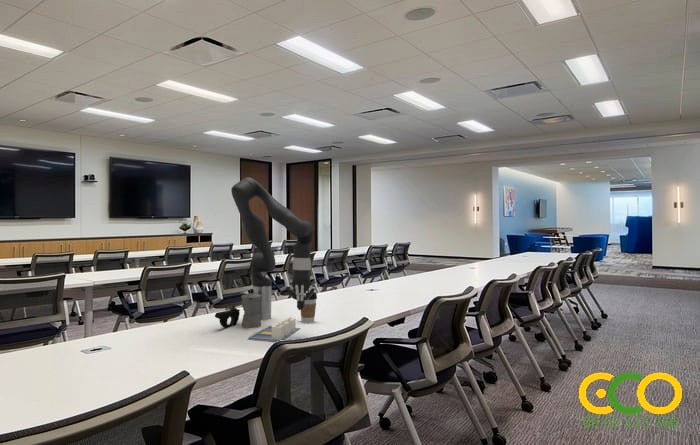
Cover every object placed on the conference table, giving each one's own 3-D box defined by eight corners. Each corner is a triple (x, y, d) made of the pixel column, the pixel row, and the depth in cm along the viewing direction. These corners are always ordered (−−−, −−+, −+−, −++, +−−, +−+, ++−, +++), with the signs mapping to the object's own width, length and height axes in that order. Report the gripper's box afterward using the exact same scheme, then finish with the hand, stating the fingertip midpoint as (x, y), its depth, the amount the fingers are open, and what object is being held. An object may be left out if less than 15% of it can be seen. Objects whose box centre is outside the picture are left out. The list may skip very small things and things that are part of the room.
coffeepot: (261, 331, 196) (261, 291, 196) (239, 332, 195) (239, 291, 195) (263, 323, 212) (263, 286, 212) (242, 324, 210) (243, 286, 210)
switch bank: (246, 342, 179) (246, 338, 179) (270, 328, 202) (270, 325, 202) (280, 345, 176) (280, 341, 176) (300, 331, 199) (300, 327, 199)
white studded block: (283, 331, 193) (283, 318, 193) (286, 329, 197) (287, 316, 197) (292, 332, 192) (292, 319, 192) (295, 329, 196) (295, 317, 196)
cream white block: (277, 335, 186) (277, 321, 186) (281, 332, 190) (281, 319, 190) (286, 335, 186) (286, 322, 186) (290, 333, 189) (290, 320, 189)
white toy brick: (271, 339, 180) (271, 325, 180) (275, 336, 184) (275, 323, 184) (280, 339, 179) (281, 325, 179) (284, 337, 183) (284, 323, 183)
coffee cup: (315, 326, 209) (316, 294, 209) (297, 325, 209) (298, 294, 209) (317, 322, 217) (317, 291, 217) (300, 321, 217) (300, 291, 217)
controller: (241, 326, 206) (241, 305, 205) (219, 331, 195) (219, 309, 195) (235, 325, 208) (235, 303, 208) (213, 330, 198) (213, 307, 198)
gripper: (283, 268, 184) (282, 310, 184) (313, 269, 181) (312, 312, 181) (290, 266, 191) (289, 307, 191) (319, 268, 188) (318, 309, 188)
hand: (300, 309), depth 186 cm, fingers closed
